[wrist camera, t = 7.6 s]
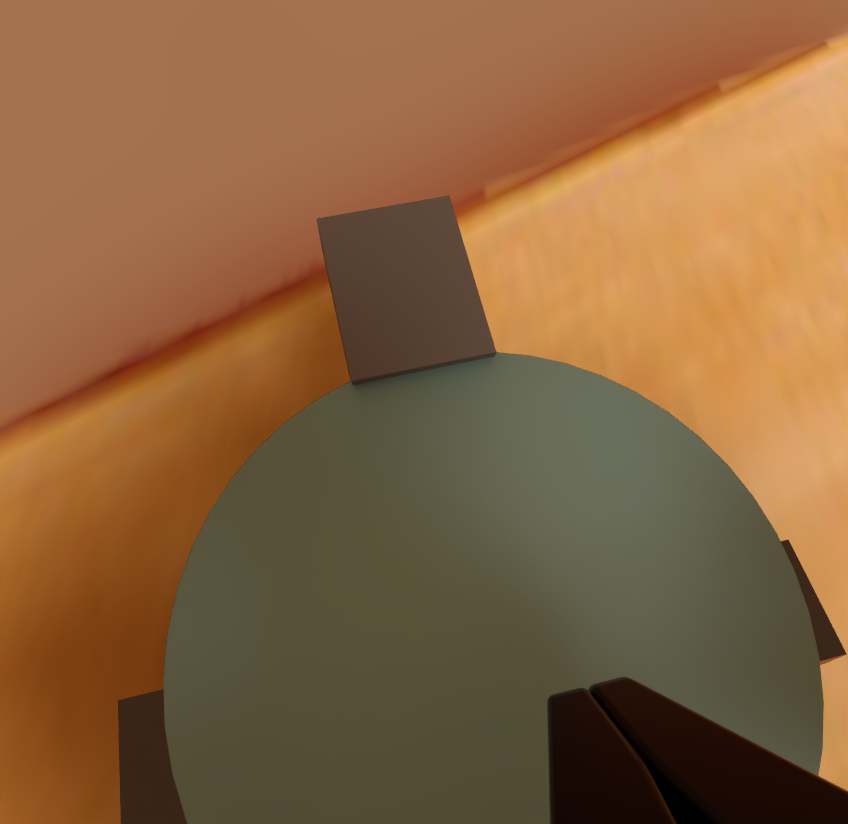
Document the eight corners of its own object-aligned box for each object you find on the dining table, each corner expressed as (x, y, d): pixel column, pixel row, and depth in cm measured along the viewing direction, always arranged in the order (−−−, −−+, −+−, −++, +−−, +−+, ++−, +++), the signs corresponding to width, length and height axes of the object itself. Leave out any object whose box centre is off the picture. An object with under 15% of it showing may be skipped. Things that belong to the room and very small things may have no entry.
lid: (904, 915, 12) (954, 936, 11) (222, 1124, 11) (202, 1170, 10) (616, 197, 18) (630, 163, 17) (136, 283, 17) (117, 253, 16)
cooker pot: (863, 918, 17) (1013, 948, 12) (207, 1117, 15) (118, 1232, 11) (662, 464, 23) (718, 376, 18) (172, 573, 21) (105, 505, 17)
